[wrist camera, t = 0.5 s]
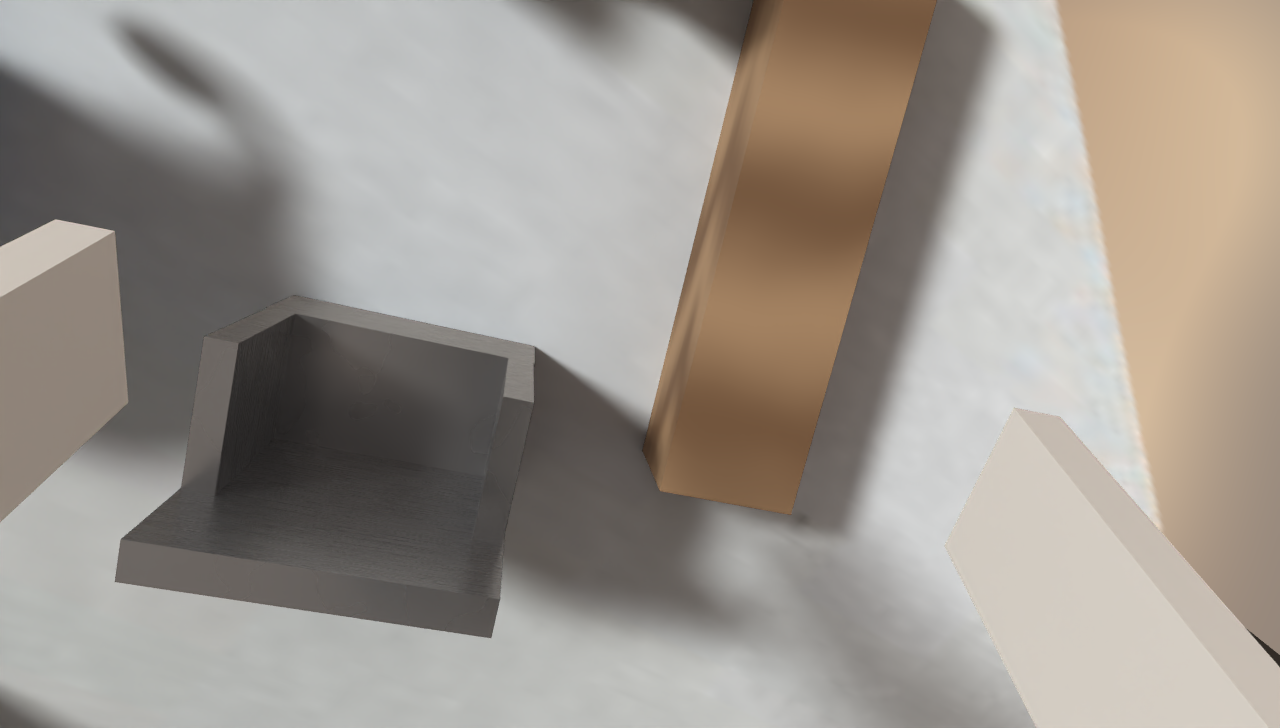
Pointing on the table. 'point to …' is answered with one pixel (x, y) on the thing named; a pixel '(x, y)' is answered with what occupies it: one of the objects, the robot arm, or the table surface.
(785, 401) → the rail
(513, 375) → the bracket
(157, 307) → the table surface
